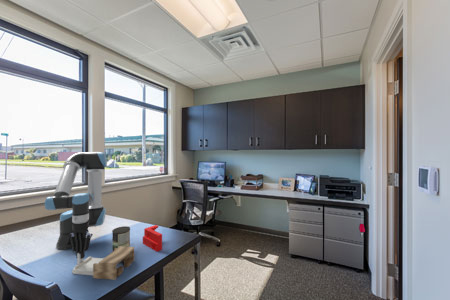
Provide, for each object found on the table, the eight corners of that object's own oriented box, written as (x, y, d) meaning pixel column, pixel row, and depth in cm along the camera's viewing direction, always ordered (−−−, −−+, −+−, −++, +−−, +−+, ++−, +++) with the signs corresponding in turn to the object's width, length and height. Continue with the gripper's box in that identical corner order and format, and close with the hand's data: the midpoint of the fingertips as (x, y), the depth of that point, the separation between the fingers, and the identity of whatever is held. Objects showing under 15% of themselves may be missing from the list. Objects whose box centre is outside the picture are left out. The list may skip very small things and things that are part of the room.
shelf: (93, 278, 101) (93, 262, 101) (115, 259, 118) (115, 246, 118) (115, 279, 99) (115, 263, 99) (134, 261, 116) (134, 247, 116)
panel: (72, 274, 104) (72, 267, 104) (90, 261, 116) (90, 255, 116) (93, 276, 103) (93, 268, 103) (109, 263, 115) (109, 256, 115)
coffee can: (109, 255, 123) (109, 232, 123) (116, 247, 133) (116, 226, 133) (126, 254, 124) (126, 232, 124) (132, 246, 134) (132, 226, 134)
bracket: (142, 229, 139) (155, 225, 146) (142, 243, 139) (155, 238, 146) (156, 236, 127) (170, 231, 135) (156, 252, 127) (170, 246, 135)
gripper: (64, 223, 108) (63, 267, 107) (85, 224, 106) (85, 268, 106) (75, 218, 115) (75, 259, 115) (96, 219, 114) (96, 260, 113)
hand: (80, 263), depth 110 cm, fingers closed
